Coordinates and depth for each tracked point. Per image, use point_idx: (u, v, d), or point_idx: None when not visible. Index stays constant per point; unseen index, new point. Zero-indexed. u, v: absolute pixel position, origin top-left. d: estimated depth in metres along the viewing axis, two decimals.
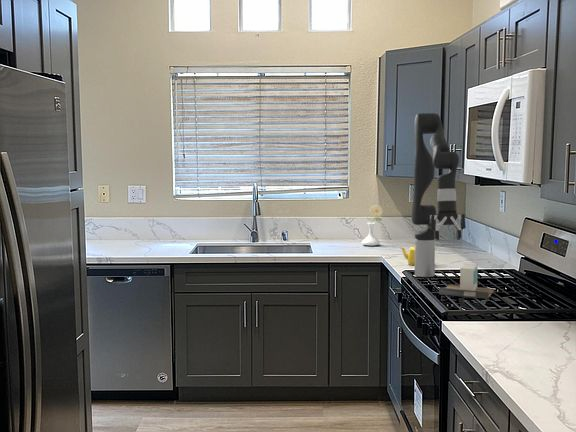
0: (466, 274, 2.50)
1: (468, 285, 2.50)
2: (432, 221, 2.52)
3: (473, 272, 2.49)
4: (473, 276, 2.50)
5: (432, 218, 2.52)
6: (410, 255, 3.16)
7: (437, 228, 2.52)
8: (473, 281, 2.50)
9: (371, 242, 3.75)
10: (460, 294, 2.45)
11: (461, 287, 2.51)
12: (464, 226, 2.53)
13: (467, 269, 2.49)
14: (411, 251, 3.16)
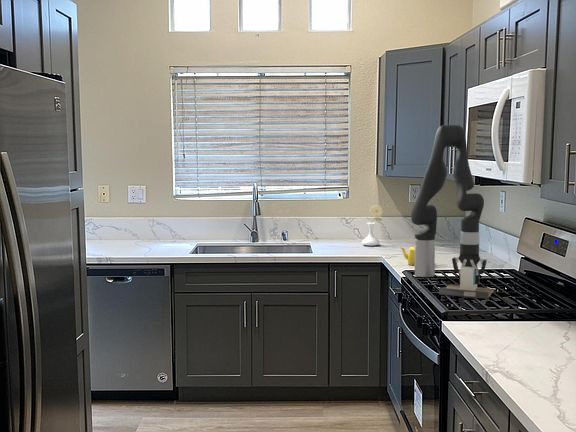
0: (466, 274, 2.50)
1: (468, 285, 2.50)
2: (454, 264, 2.55)
3: (473, 272, 2.49)
4: (473, 276, 2.50)
5: (453, 261, 2.55)
6: (410, 255, 3.16)
7: None
8: (473, 281, 2.50)
9: (371, 242, 3.75)
10: (460, 294, 2.45)
11: (461, 287, 2.51)
12: (481, 272, 2.51)
13: (467, 269, 2.49)
14: (411, 251, 3.16)
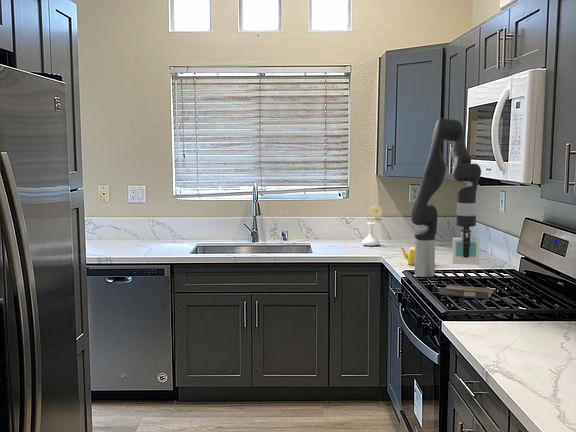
0: None
1: None
2: None
3: (455, 243, 2.46)
4: (455, 247, 2.46)
5: None
6: (410, 255, 3.16)
7: None
8: (455, 252, 2.47)
9: (371, 242, 3.75)
10: (460, 294, 2.45)
11: None
12: (463, 244, 2.43)
13: (453, 239, 2.48)
14: (411, 251, 3.16)
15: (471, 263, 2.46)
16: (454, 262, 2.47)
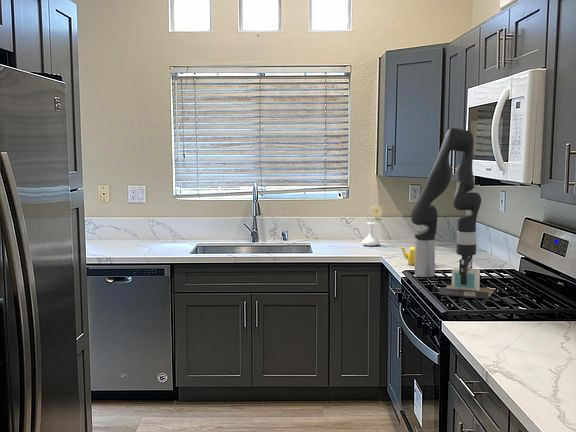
0: None
1: None
2: None
3: (454, 273, 2.48)
4: (454, 277, 2.48)
5: None
6: (410, 255, 3.16)
7: None
8: (454, 282, 2.48)
9: (371, 242, 3.75)
10: (460, 294, 2.45)
11: None
12: (459, 272, 2.42)
13: (453, 269, 2.50)
14: (411, 251, 3.16)
15: None
16: None
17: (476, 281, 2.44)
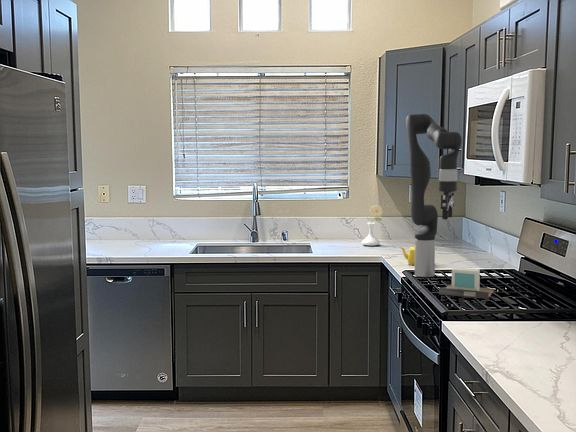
0: None
1: None
2: None
3: (454, 273, 2.48)
4: (454, 277, 2.48)
5: None
6: (410, 255, 3.16)
7: None
8: (454, 282, 2.48)
9: (371, 242, 3.75)
10: (460, 294, 2.45)
11: None
12: (441, 207, 2.56)
13: (453, 269, 2.50)
14: (411, 251, 3.16)
15: None
16: None
17: (476, 281, 2.44)
